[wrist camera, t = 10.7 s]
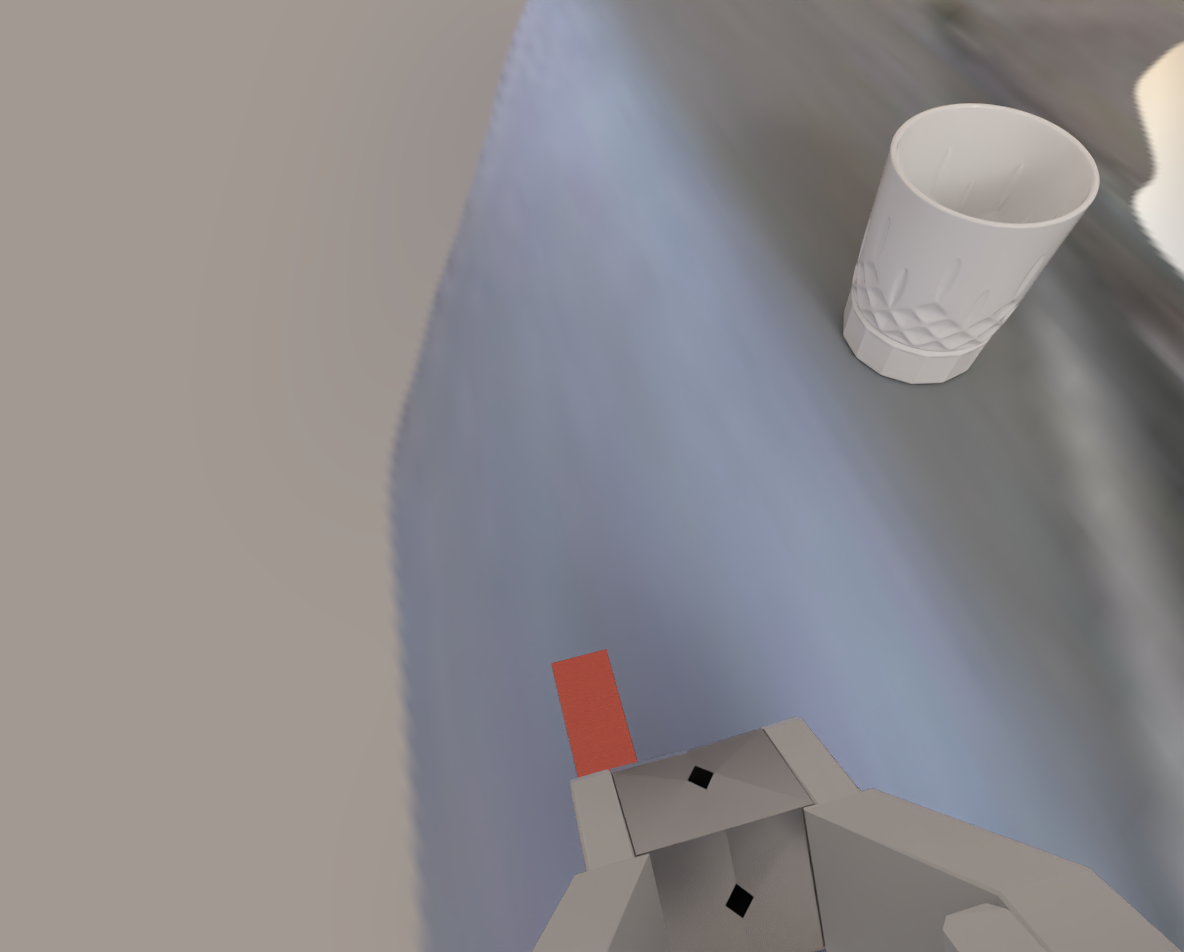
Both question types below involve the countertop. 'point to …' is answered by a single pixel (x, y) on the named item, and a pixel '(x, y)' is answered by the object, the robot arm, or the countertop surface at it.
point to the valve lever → (593, 713)
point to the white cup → (960, 235)
